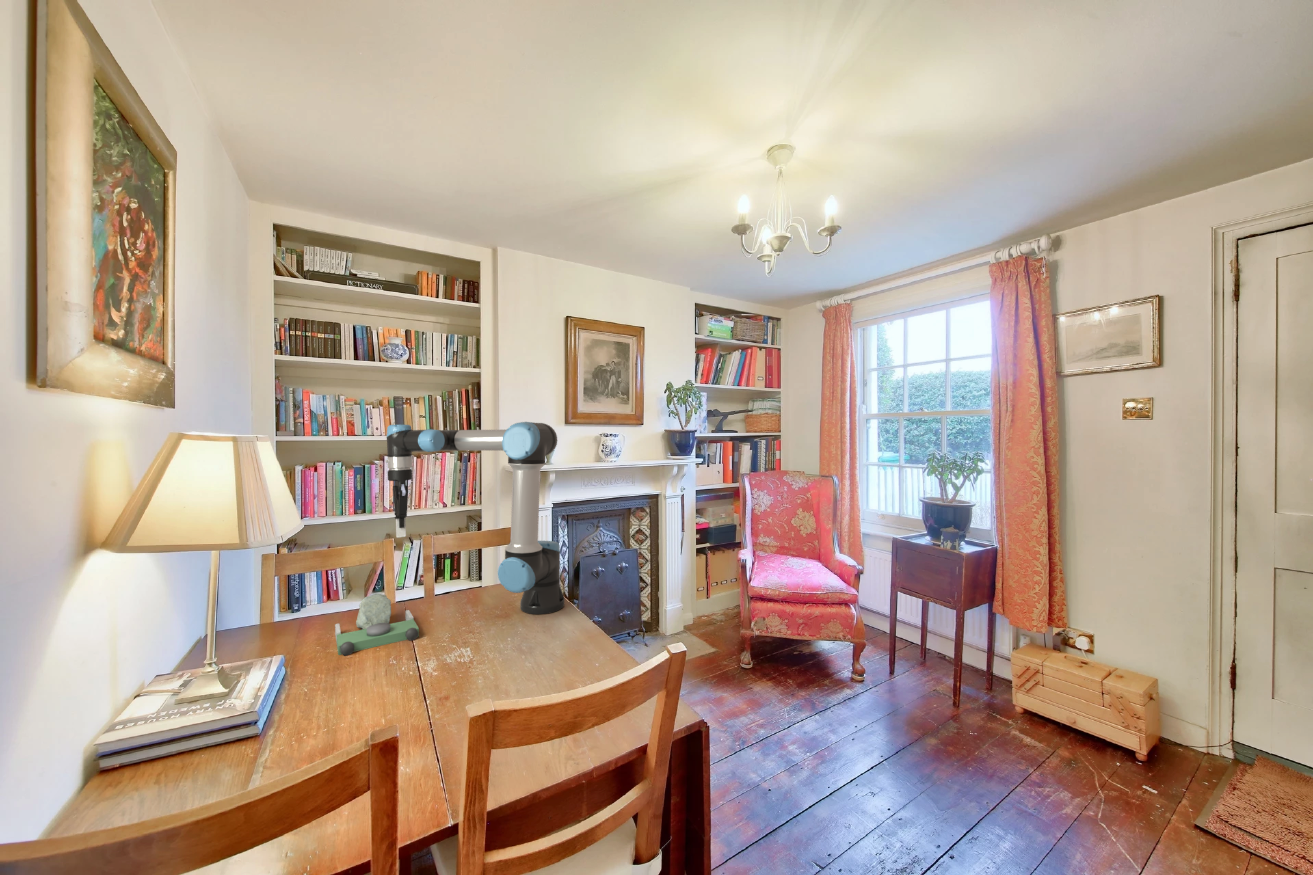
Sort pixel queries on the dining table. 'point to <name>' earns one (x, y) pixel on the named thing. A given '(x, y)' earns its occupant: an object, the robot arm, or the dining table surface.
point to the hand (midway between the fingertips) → (401, 536)
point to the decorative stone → (374, 611)
